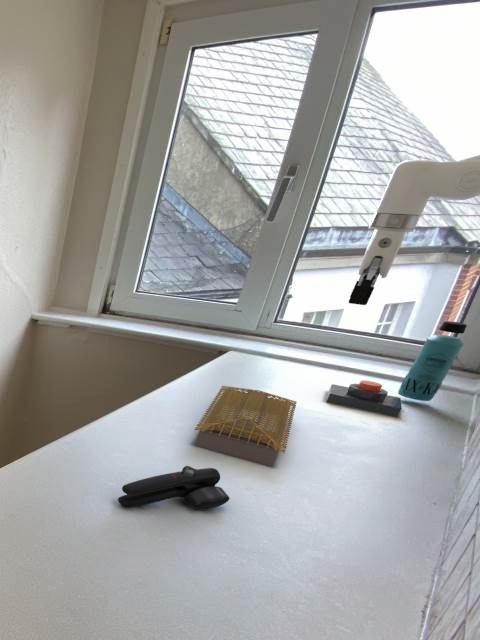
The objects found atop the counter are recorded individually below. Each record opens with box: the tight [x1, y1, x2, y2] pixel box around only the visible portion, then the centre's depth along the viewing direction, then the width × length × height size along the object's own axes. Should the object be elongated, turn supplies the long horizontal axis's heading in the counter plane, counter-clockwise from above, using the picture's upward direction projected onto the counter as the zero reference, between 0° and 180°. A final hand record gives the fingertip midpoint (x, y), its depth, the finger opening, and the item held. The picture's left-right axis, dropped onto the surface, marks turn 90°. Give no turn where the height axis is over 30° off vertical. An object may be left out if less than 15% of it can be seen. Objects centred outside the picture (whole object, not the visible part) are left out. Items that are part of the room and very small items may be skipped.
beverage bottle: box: [397, 320, 468, 402], centre depth 131 cm, size 6×7×20 cm
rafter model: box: [193, 385, 297, 467], centre depth 114 cm, size 35×14×6 cm, turn 140°
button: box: [358, 380, 383, 392], centre depth 131 cm, size 4×4×2 cm
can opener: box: [117, 465, 230, 511], centre depth 86 cm, size 18×7×6 cm, turn 100°
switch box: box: [325, 383, 403, 418], centre depth 132 cm, size 13×10×4 cm
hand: (357, 301), depth 129 cm, fingers open, 9 cm apart
